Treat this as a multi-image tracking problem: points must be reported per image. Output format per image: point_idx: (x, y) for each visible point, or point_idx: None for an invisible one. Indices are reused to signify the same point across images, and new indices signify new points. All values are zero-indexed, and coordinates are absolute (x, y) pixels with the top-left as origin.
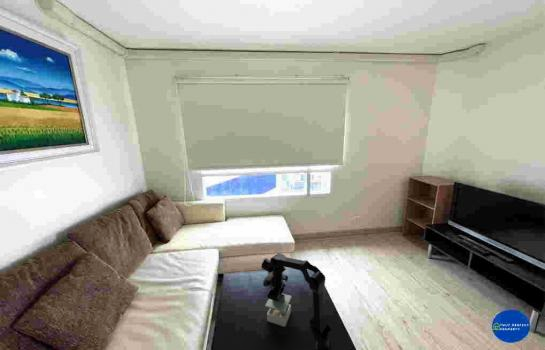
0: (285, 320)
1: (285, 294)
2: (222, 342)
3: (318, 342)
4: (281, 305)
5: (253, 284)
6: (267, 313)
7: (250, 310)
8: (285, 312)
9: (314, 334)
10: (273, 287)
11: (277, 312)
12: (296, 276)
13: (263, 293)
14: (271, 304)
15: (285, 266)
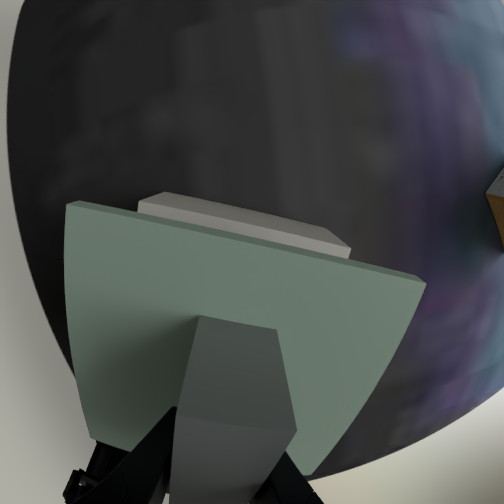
0: None
1: (338, 438)
2: (31, 2)
3: (71, 475)
4: (146, 424)
5: (487, 55)
6: (144, 206)
7: (259, 26)
8: None
9: (64, 490)
10: (489, 200)
11: None
12: None
13: (445, 119)
14: (112, 310)
15: None
